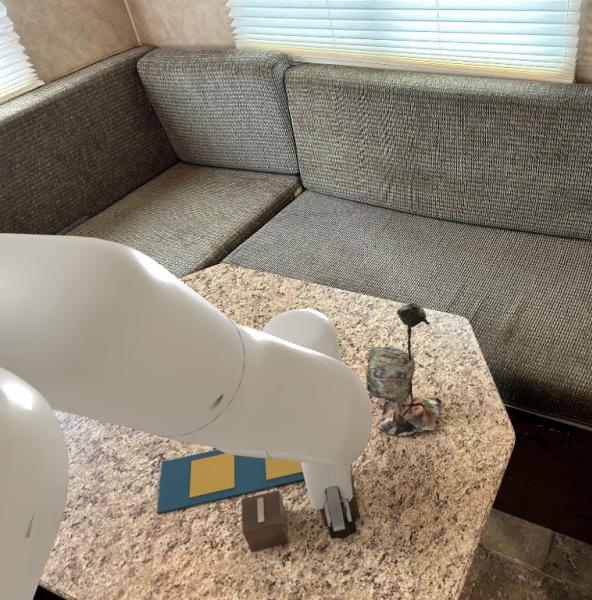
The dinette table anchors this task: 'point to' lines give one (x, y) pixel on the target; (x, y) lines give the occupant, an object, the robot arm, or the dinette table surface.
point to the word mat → (220, 478)
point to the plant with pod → (401, 383)
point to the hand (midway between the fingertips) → (338, 501)
